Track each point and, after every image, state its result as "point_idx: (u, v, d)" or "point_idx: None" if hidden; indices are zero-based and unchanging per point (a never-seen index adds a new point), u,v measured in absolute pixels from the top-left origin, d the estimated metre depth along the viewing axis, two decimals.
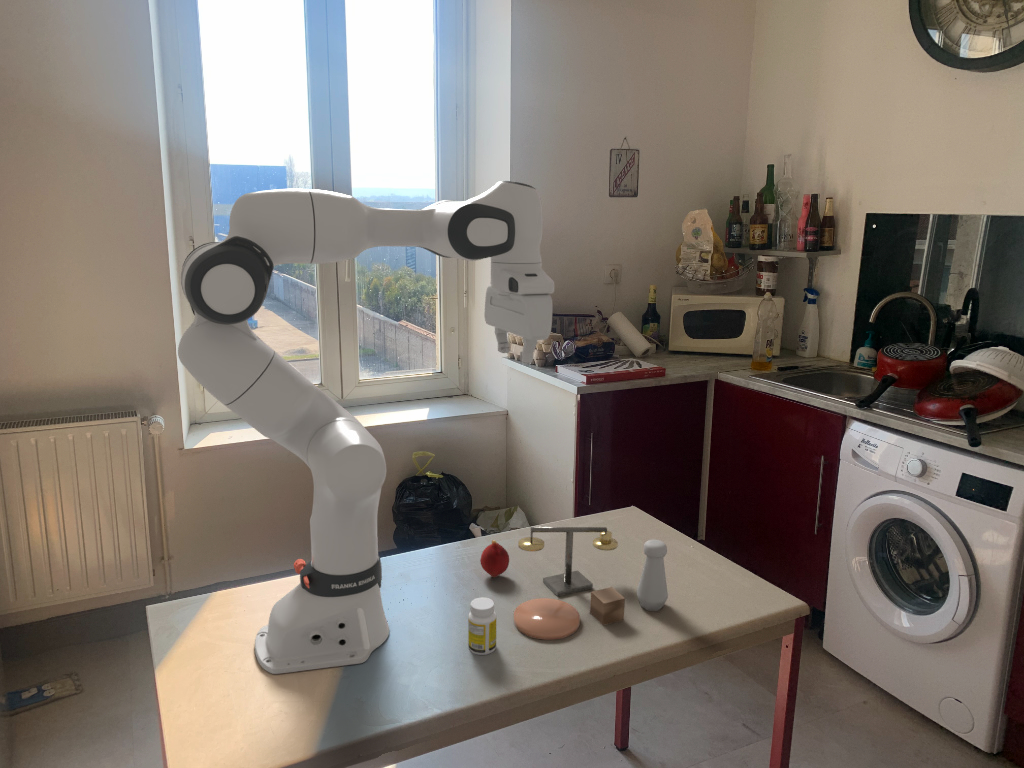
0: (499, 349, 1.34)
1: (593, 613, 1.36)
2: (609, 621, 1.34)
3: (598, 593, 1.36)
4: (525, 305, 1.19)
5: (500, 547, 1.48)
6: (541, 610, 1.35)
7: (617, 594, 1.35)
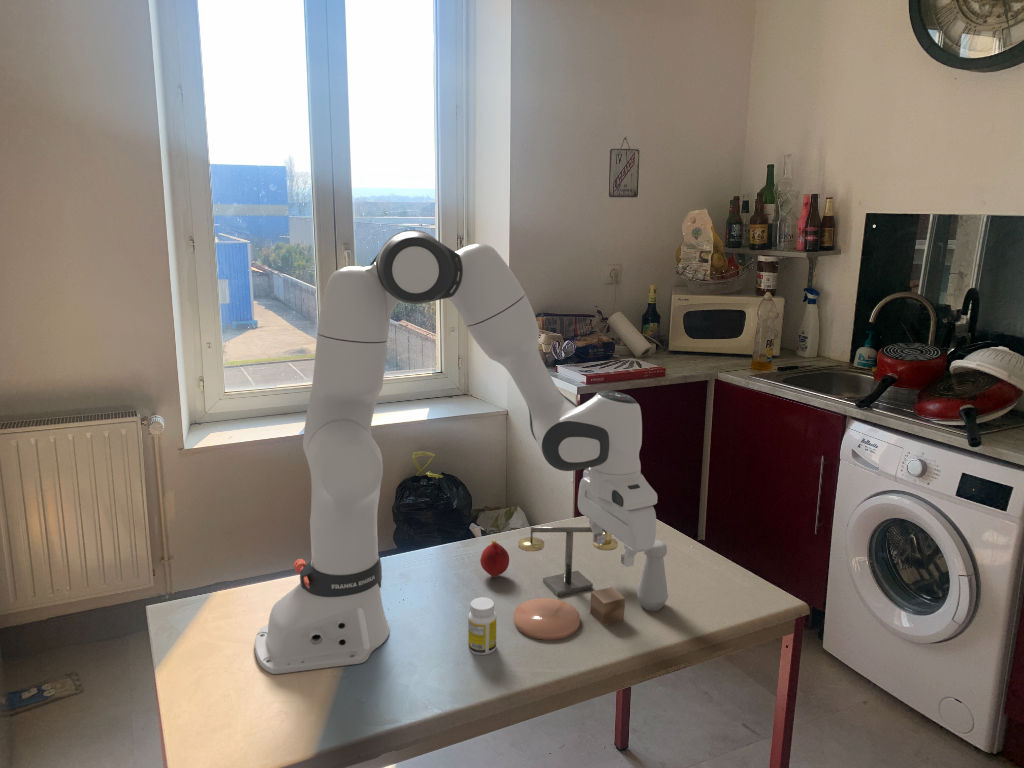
0: (594, 540, 1.37)
1: (593, 613, 1.36)
2: (609, 621, 1.34)
3: (598, 593, 1.36)
4: (630, 520, 1.22)
5: (500, 547, 1.48)
6: (541, 610, 1.35)
7: (617, 594, 1.35)
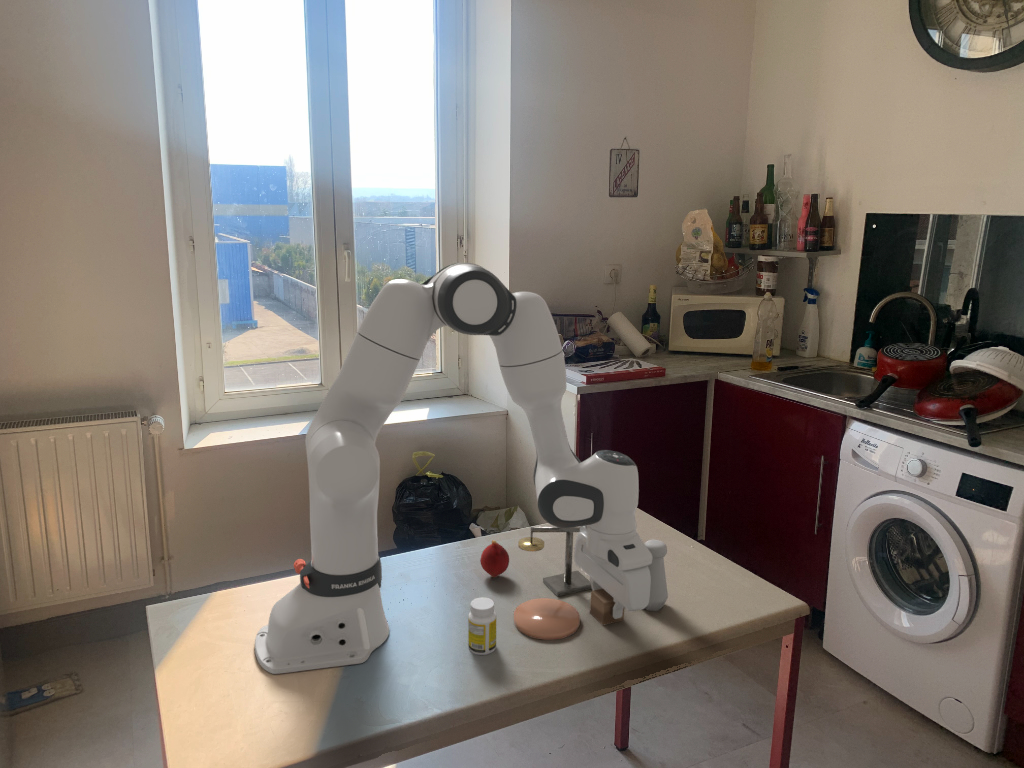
0: None
1: (593, 612, 1.36)
2: (609, 620, 1.33)
3: (598, 592, 1.36)
4: (625, 581, 1.24)
5: (500, 547, 1.48)
6: (541, 610, 1.35)
7: None
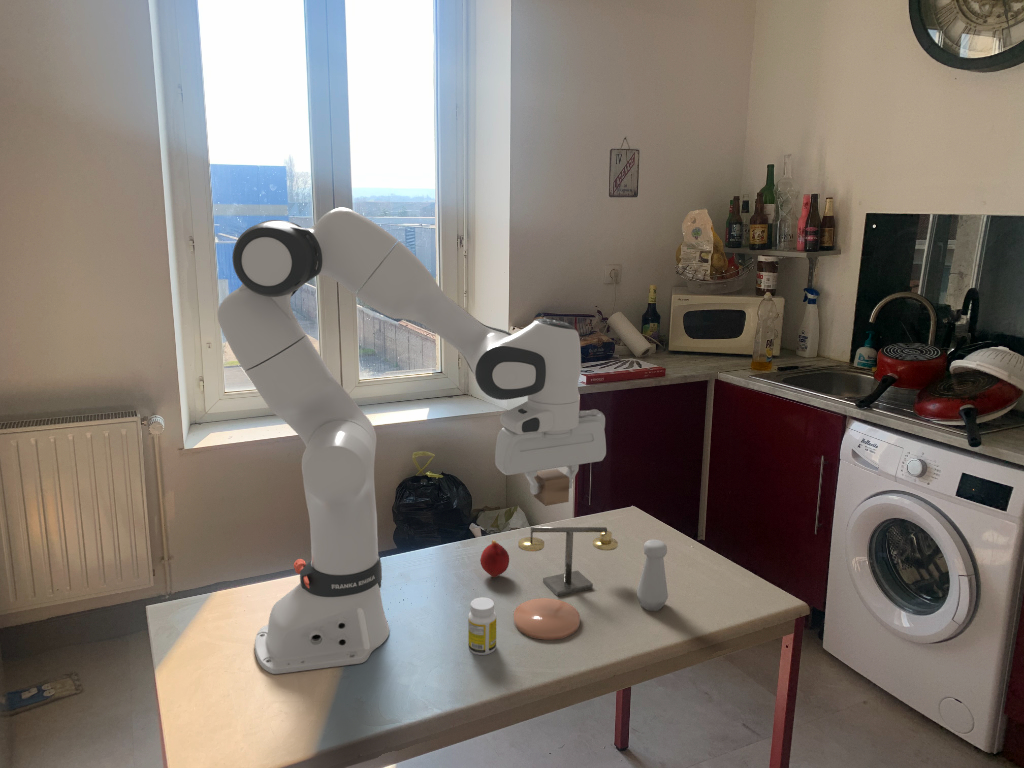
0: None
1: None
2: (537, 496, 1.28)
3: (554, 471, 1.29)
4: None
5: (500, 547, 1.48)
6: (541, 610, 1.35)
7: (553, 478, 1.26)
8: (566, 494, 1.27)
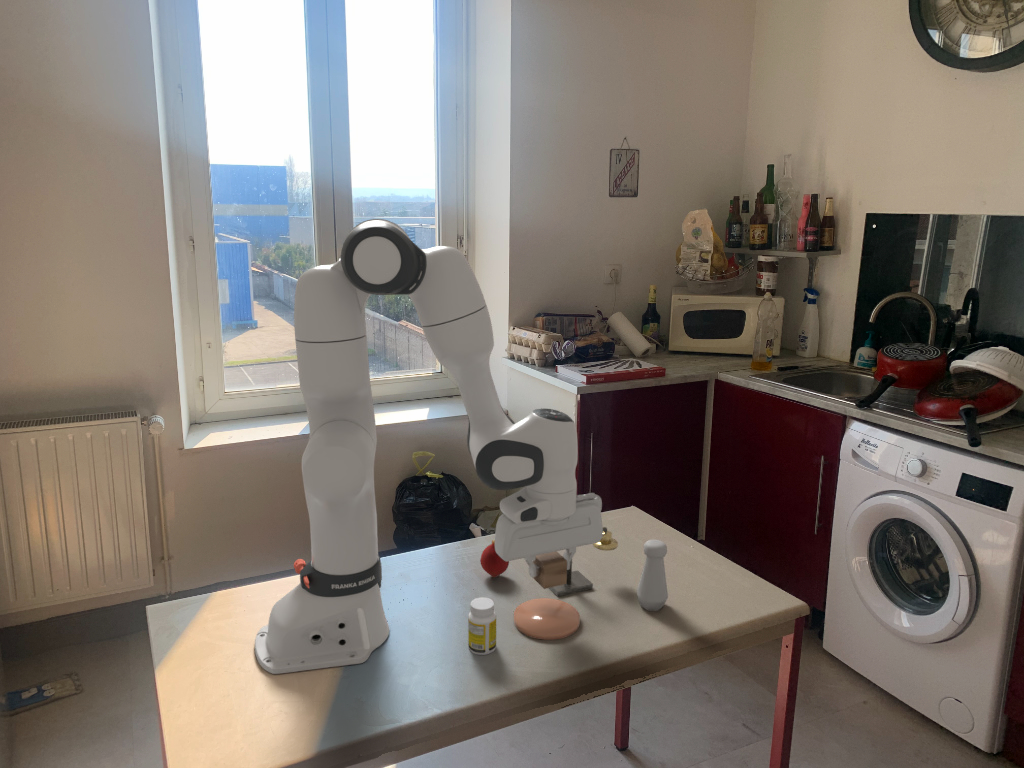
0: None
1: None
2: (536, 578, 1.32)
3: (553, 553, 1.33)
4: None
5: None
6: (541, 610, 1.35)
7: (551, 562, 1.29)
8: (564, 576, 1.30)
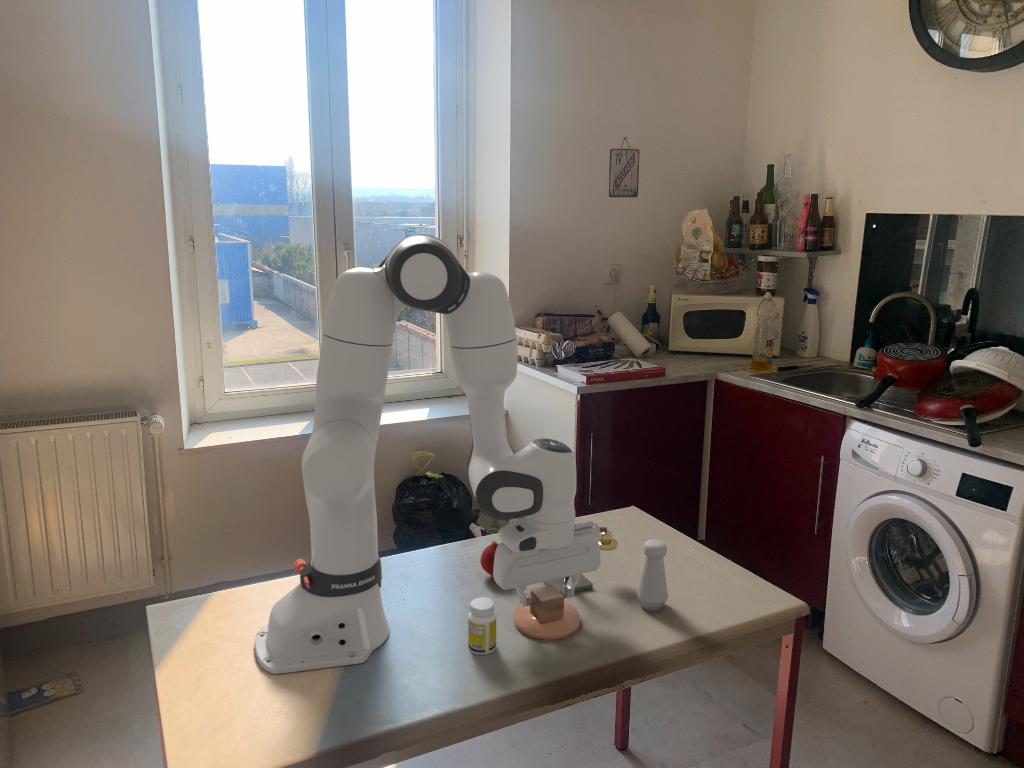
0: None
1: None
2: (533, 613, 1.33)
3: (550, 588, 1.34)
4: None
5: None
6: None
7: (549, 598, 1.31)
8: (561, 612, 1.32)
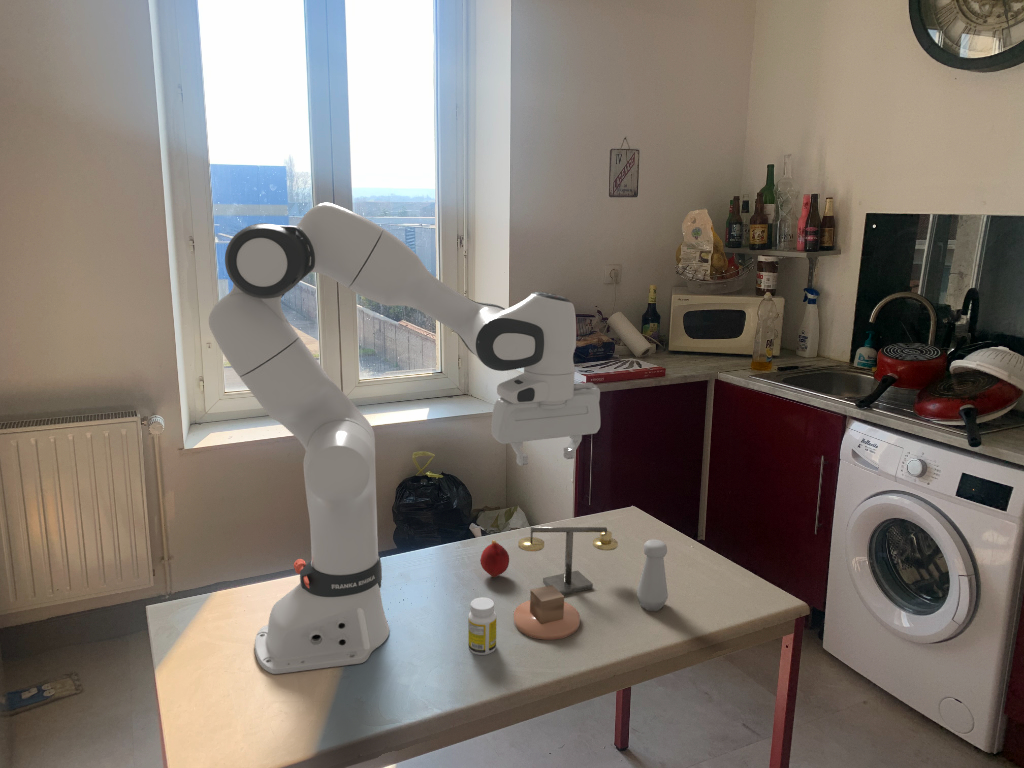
0: None
1: None
2: (533, 613, 1.33)
3: (550, 588, 1.34)
4: None
5: (500, 547, 1.48)
6: None
7: (549, 598, 1.31)
8: (561, 612, 1.32)
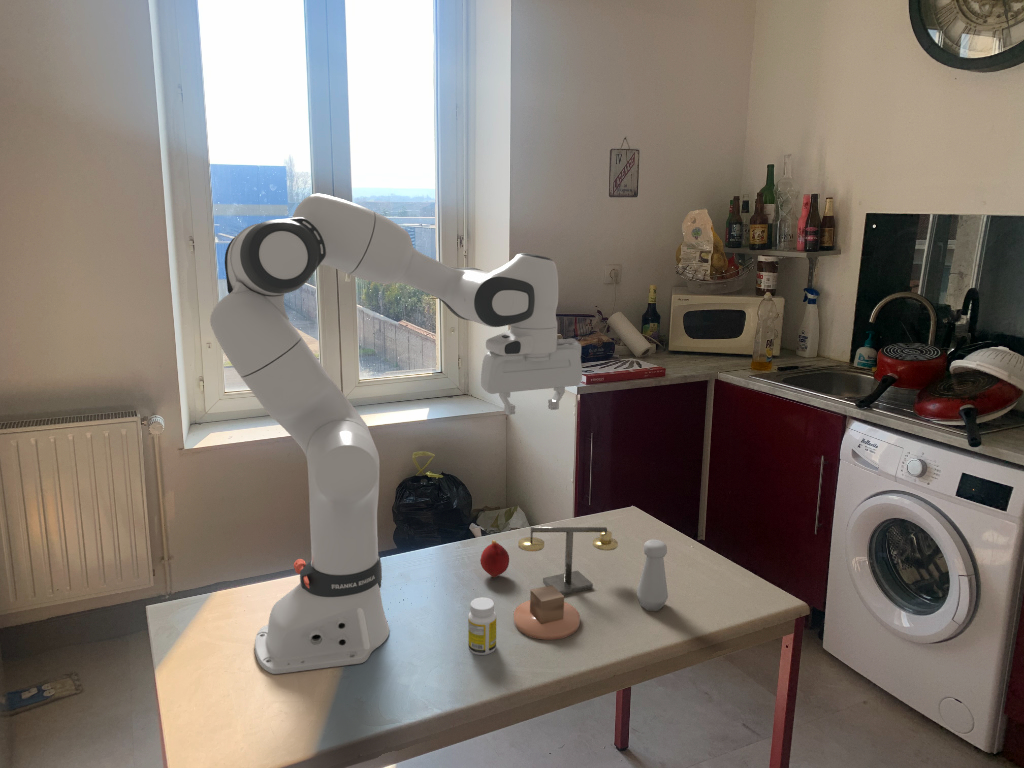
0: None
1: None
2: (533, 613, 1.33)
3: (550, 588, 1.34)
4: None
5: (500, 547, 1.48)
6: None
7: (549, 598, 1.31)
8: (561, 612, 1.32)
